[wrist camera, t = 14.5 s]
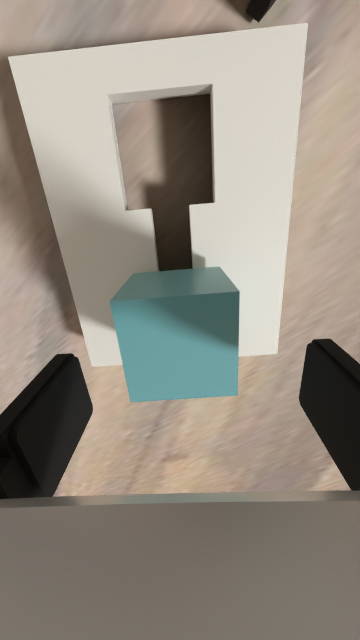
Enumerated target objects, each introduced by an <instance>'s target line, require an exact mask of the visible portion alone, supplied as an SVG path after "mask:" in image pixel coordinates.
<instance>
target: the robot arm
mask: <svg viewBox="0 0 360 640" xmlns="http://www.w3.org/2000/svg"><path fill="white" fill-rule="evenodd" d="M299 401H300V405H301V407H302V408H303V410H304V412H305V413H306V415H307V417H308V418H309V420H310V422H311V423H312V425H313V427H314V428H315V430H316V432H317V433H318V435H319V437H320V439H321V440H322V442H323V444H324V445H325V447H326V449H327V450H328V452H329V454H330V455H331V457H332V459H333V460H334V462H335V464H336V465H337V467H338V469H339V470H340V472H341V474H342V475H343V477H344V479H345V480H346V482H347V484H348V485H349V487H350V489H351V490H352V491H280V492H224V493H178V494H135V495H99V496H64V497H52V496H53V495H54V493H55V491H56V489H57V487H58V485H59V482H60V480H61V478H62V476H63V474H64V472H65V470H66V468H67V466H68V464H69V461H70V459H71V457H72V455H73V453H74V451H75V449H76V447H77V445H78V442H79V440H80V438H81V436H82V434H83V432H84V430H85V428H86V426H87V424H88V421H89V419H90V417H91V415H92V411H93V406H92V402H91V399H90V396H89V393H88V389H87V386H86V383H85V379H84V376H83V373H82V369H81V366H80V363H79V359H78V358H77V357H74V355H73V354H71V353H70V354H57V355H56V356H55V357H54V358H53V359H52V360H51V361H50V362H49V363H48V364H47V365H46V366H45V367H44V368H43V369H42V371H41V372H40V373H39V374H38V375H37V376H36V377H35V378H34V379H33V380H32V381H31V382H30V383H29V384H28V386H27V387H26V388H25V389H24V390H23V391H22V392H21V393H20V394H19V395H18V396H17V397H16V398H15V400H14V401H13V402H12V403H11V404H10V405H9V406H8V407H7V408H6V409H5V410H4V411H3V412H2V413H1V415H0V640H360V364H359V363H358V362H357V361H356V360H354V359H353V358H352V357H351V356H350V355H349V354H347V353H346V352H345V351H344V350H343V349H342V348H341V347H339V346H338V345H337V344H336V343H335V342H334V341H332V340H331V339H314V340H312V342H311V343H309V344H308V345H307V349H306V355H305V362H304V368H303V375H302V381H301V388H300V394H299Z"/></svg>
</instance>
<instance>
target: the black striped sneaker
mask: <svg viewBox="0 0 360 640" xmlns="http://www.w3.org/2000/svg"><path fill="white" fill-rule="evenodd" d="M275 1H276V0H250V3H249V5H248V7H247V9H246V12H247V13H248V14H249V15H250V16H251V17H253V18H254V19H255V20H256V21H258V22H259V21H260V20H261V19H262V18H263V16H264V15H265V14H266V13H267V11H268V10H269V9H270V8H271V7H272V5H273V4H274V2H275Z"/></svg>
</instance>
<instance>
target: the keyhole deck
mask: <svg viewBox="0 0 360 640" xmlns="http://www.w3.org/2000/svg"><path fill="white" fill-rule="evenodd" d="M307 27H308V23H302V24H293V25H284V26H276V27H267V28H258V29H249V30H240V31H231V32H222V33H214V34H205V35H196V36H187V37H178V38H169V39H161V40H152V41H143V42H134V43H125V44H116V45H108V46H99V47H90V48H81V49H72V50H63V51H55V52H46V53H37V54H28V55H19V56H10V57H8V59H9V63H10V67H11V70H12V74H13V78H14V81H15V85H16V89H17V92H18V96H19V100H20V103H21V107H22V111H23V114H24V118H25V122H26V125H27V129H28V133H29V136H30V140H31V144H32V148H33V151H34V155H35V159H36V162H37V166H38V170H39V173H40V177H41V181H42V184H43V188H44V192H45V195H46V199H47V203H48V206H49V210H50V214H51V217H52V221H53V225H54V229H55V232H56V236H57V240H58V243H59V247H60V251H61V254H62V258H63V262H64V265H65V269H66V273H67V276H68V280H69V284H70V287H71V291H72V295H73V298H74V302H75V306H76V310H77V313H78V317H79V321H80V324H81V328H82V332H83V335H84V339H85V343H86V346H87V350H88V354H89V357H90V361H91V365H92V367H95V366H110V365H123V363H122V359H121V354H120V349H119V344H118V339H117V335H116V330H115V325H114V320H113V316H112V311H111V306H110V300H111V299H112V298H113V297H114V296H115V294H116V293H117V292H118V291H119V290H120V288H121V287H122V286H123V285H124V284H125V282H126V281H127V280H128V279H129V278H130V277H131V275H132V274H133V273H145V272H157V271H159V266H158V257H157V249H156V240H155V232H154V223H153V214H152V209H140V210H128V208H127V202H126V195H125V189H124V182H123V176H122V169H121V163H120V156H119V149H118V143H117V136H116V130H115V123H114V117H113V110H112V104H120V103H129V102H139V101H148V100H158V99H167V98H177V97H186V96H196V95H206V94H210V95H211V137H212V179H213V203H206V204H195V205H189V218H190V234H191V251H192V267H193V269H194V268H206V267H219V266H220V268H221V269H222V270H223V271H224V273H225V274H226V275H227V276H228V277H229V279H230V280H231V281H232V282H233V284H234V285H235V286H236V287H237V289H238V290H239V291H240V302H239V353H238V357H239V356H253V355H267V354H277V350H278V339H279V328H280V317H281V307H282V296H283V285H284V274H285V264H286V253H287V242H288V231H289V221H290V210H291V199H292V188H293V178H294V167H295V156H296V146H297V135H298V124H299V113H300V103H301V92H302V81H303V70H304V60H305V49H306V38H307Z"/></svg>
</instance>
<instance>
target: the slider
mask: <svg viewBox="0 0 360 640" xmlns="http://www.w3.org/2000/svg"><path fill="white" fill-rule="evenodd" d="M239 302H240V291H239V290H238V289H237V287H236V286H235V285H234V284H233V282H232V281H231V280H230V279H229V277H228V276H227V275H226V274H225V273H224V271H223V270H222V269H221V268H220V266H219V267H206V268H194V269H182V270H169V271H157V272H145V273H133V274H132V275H131V277H130V278H129V279H128V280H127V281H126V282H125V284H124V285H123V286H122V287H121V288H120V290H119V291H118V292H117V293H116V294H115V296H114V297H113V298H112V299H111V300H110V306H111V311H112V316H113V320H114V325H115V330H116V335H117V339H118V344H119V349H120V354H121V359H122V363H123V368H124V373H125V378H126V383H127V387H128V392H129V397H130V402H142V401H158V400H174V399H190V398H206V397H221V396H237V395H238V353H239Z"/></svg>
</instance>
